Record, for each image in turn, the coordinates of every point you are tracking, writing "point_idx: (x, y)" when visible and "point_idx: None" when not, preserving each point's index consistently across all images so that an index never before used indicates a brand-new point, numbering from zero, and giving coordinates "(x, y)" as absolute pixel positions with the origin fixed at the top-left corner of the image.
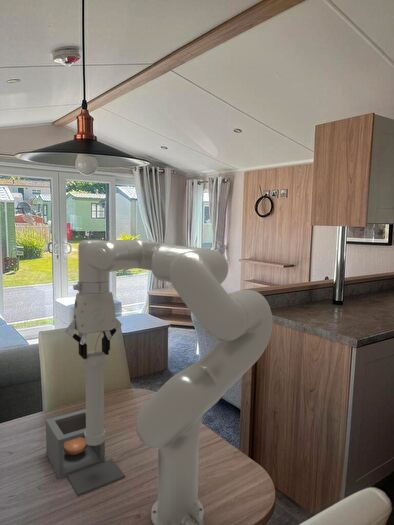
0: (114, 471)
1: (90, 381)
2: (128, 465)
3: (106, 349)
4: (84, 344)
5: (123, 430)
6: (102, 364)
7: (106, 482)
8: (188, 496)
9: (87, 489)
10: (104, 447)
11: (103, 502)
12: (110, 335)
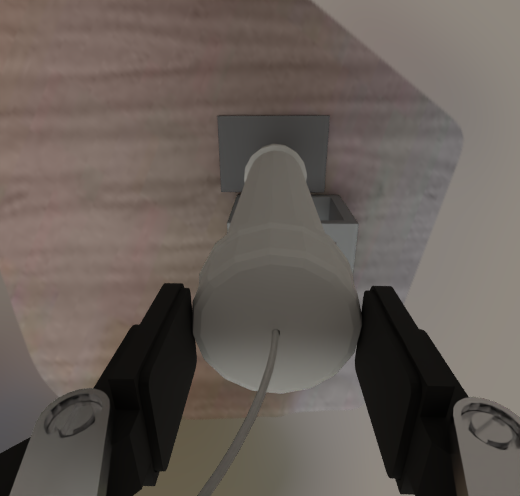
0: (233, 144)
1: (314, 214)
2: (195, 153)
3: (172, 311)
4: (452, 388)
5: (159, 280)
6: (243, 224)
7: (262, 117)
8: None
9: (306, 119)
10: (234, 204)
11: (291, 62)
12: (42, 443)
